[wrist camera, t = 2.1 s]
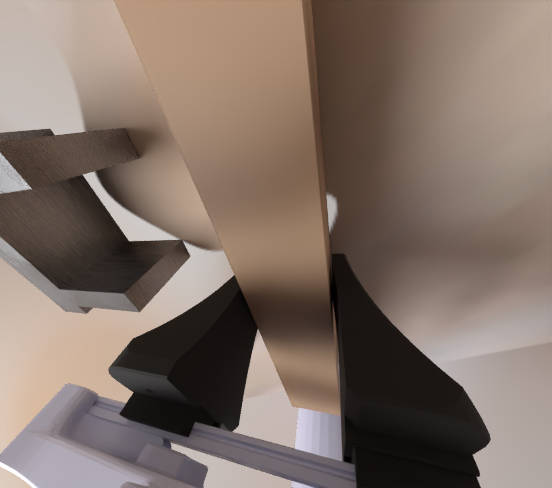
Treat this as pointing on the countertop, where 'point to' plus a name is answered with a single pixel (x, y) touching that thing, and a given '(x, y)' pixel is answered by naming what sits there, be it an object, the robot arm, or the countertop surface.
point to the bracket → (75, 223)
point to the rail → (254, 163)
